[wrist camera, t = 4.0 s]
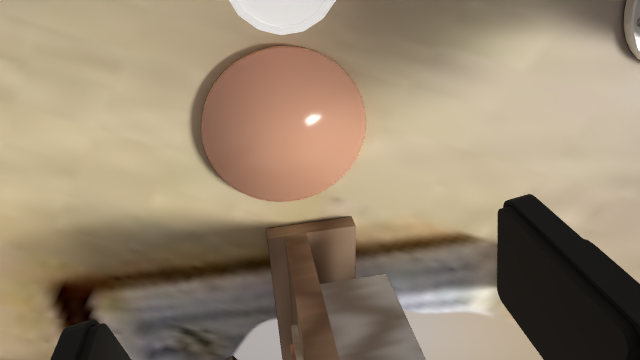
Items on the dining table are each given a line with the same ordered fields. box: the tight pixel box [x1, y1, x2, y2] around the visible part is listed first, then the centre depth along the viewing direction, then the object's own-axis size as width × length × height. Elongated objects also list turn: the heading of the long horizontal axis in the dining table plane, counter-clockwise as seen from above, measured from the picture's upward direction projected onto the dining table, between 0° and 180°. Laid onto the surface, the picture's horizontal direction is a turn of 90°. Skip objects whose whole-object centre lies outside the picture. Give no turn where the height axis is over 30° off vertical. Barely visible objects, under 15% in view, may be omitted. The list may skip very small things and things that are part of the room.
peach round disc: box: [201, 46, 366, 202], centre depth 35 cm, size 13×13×1 cm
